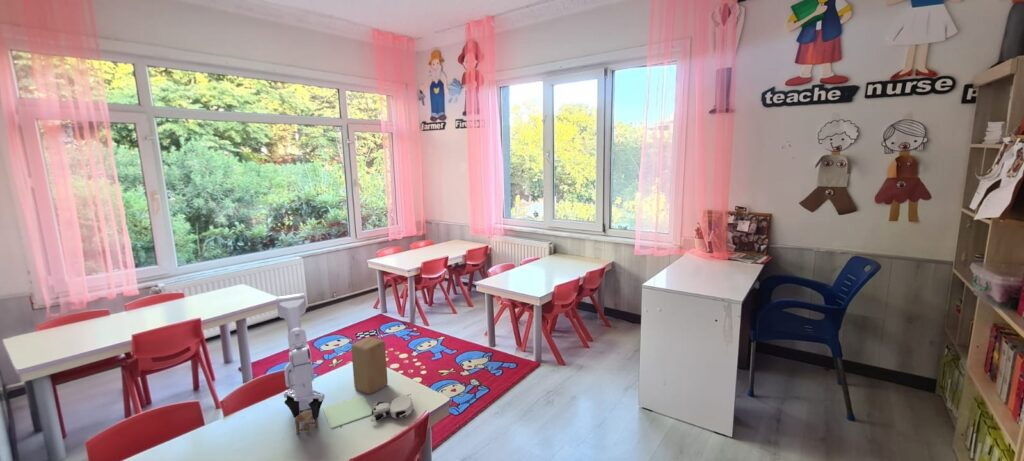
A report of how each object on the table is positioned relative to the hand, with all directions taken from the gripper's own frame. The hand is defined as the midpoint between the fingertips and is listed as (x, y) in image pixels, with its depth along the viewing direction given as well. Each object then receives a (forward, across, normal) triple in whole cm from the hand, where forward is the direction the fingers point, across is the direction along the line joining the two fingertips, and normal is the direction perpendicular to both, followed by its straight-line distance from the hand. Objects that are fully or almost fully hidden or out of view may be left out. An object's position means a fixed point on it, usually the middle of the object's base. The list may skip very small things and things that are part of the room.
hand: (306, 417), depth 148 cm
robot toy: (+6, +25, +14) cm, 30 cm away
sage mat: (+5, +8, +13) cm, 16 cm away
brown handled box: (+5, 0, 0) cm, 5 cm away
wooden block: (+5, +8, +30) cm, 32 cm away
